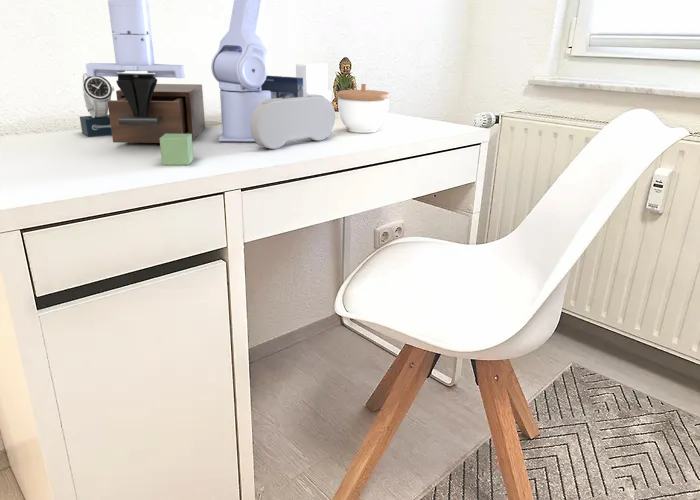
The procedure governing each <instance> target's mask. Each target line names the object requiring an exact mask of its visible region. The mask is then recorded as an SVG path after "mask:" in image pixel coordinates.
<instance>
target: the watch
mask: <svg viewBox="0 0 700 500" xmlns="http://www.w3.org/2000/svg"><path fill="white" fill-rule="evenodd" d="M82 91H83V93H82V94H83V98H84V103H85V108H86V110H87V112H88V114H89V115H84V116H83V115H82V116H81V115H80V116H79V120H80V121H79V122H80V129H81V134H82V135H84V136H86V137H87V138H90V137H100V136H101V137H102V136H112V131H111V124H110V117H109V109H108V101H110V100H112V94H113V92H114V91H115V87H114V86H112V83H110V81H109V79H107V78H106V77H105V76H95V77H88V76H87V72H86V73H83V74H82Z"/></svg>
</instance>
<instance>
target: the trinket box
mask: <svg viewBox="0 0 700 500" xmlns="http://www.w3.org/2000/svg"><path fill="white" fill-rule="evenodd" d="M360 85H361V87H360V89H343V90H339V91H337V94H336V95H337V96H336V97H337V110H338V115H339V118H340V121H341V123H342V125H344V126H345V128H347V131H348V132H350V133H356V134H357V133H359V134H370V133H371V134H372V133H376V132H378V129H379V128H381V126H382V125H384V123H385V121H386V119H387V115H388V113H389V112H388V111H389V106H390V105H389V104H390V97H391V94H390V93H389V92H388V91H383V90H374V89H367V83H361V84H360Z"/></svg>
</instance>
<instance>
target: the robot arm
mask: <svg viewBox="0 0 700 500" xmlns="http://www.w3.org/2000/svg"><path fill="white" fill-rule="evenodd" d="M107 4H108V5H107V6H108V12H109V13H108V14H109V20H110V21H109V22H110V29H111V34H112V36H111V37H112V44H113V53H114V57H115V58H114V59H115V62H89V63H85V69H86V73H87V76H88V77H95V76H103V77H109V78H111V77H113V78H115V77H116V78H117V79H116V85H117V87H118V88H119V90H121V91H122V92H123V94H124V96H125V97H126V99H127V101H128V103H129V105H130V107H131V110H132V112H133V115H134V116H148V113H149V106H150V102H151V98H152V94H153V91H154V89H155V86H156V84H158V78H164V79H165V78H167V79H169V78H170V79H184V78H185V76H186V75H185V65H184V64H166V63H155V56H154V46H153V36H152V27H151V18H150V17H151V16H150V7H149V0H107ZM266 5H267V0H233V4H232V10H231V15H230V16H231V17H230V22H229V28H228V31H227V32H226V33H225V35H224V36H223V37H222V38H221V40H220V41H219V47H218V49H217V52H216V53H215V55H214V56H213V58H212V60H211V63H210V64H211V65H210V66H211V67H210V68H211V69H210V70H211V73H212V76H213V78H214V79H215V80H216V82H218V87H219V88H218V89H219V95H220V96H219V97H220V98H219V99H220V111H221V112H220V113H221V129H222V130H221V131H222V133H221V134H220V136H219V137H218V142H255V140H254V139H253V137H252V134H251V129H250V121H251V116H252V114H253V111H254V110H255V108H256V107H257V106H258V105H259V104H260V103H262V101H264V100H267V99H271V91H262V90H261V85H262V84H263V83H264V82H265V80H266V77H267V76H268V65H267V61H266V60H267V59H266V57H267V51H268V49H267V47H266V46H265V44H264V43H263V41H262V39H261V33H262V28H263V27H262V26H263V21H264V15H265V12H266V11H265V10H266ZM127 72H128V73H127ZM129 72H130V73H129ZM131 72H134V73H131ZM135 72H147V73H135ZM255 143H256V142H255Z"/></svg>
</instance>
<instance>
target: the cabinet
mask: <svg viewBox="0 0 700 500" xmlns="http://www.w3.org/2000/svg"><path fill="white" fill-rule="evenodd" d="M115 94H116V100H120V99H122V98H125V96H124V94H123V92H122V91H121V89H118V90H116V91H115ZM152 96H182V97H185V100H186V111H187V123H188V132H187V133H186V134H192V141H194V140H195V139H196V138H197V137H198V136H199V135H200V134H201V133H202V132H203V130H204V129H206V121H205V107H204V106H205V105H204V93H203V84H201V83H200V84H199V83H198V84H197V83H196V84H195V83H194V84H192V83H191V84H189V83H157V84H156V86H155V89H154V91H153V94H152Z"/></svg>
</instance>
